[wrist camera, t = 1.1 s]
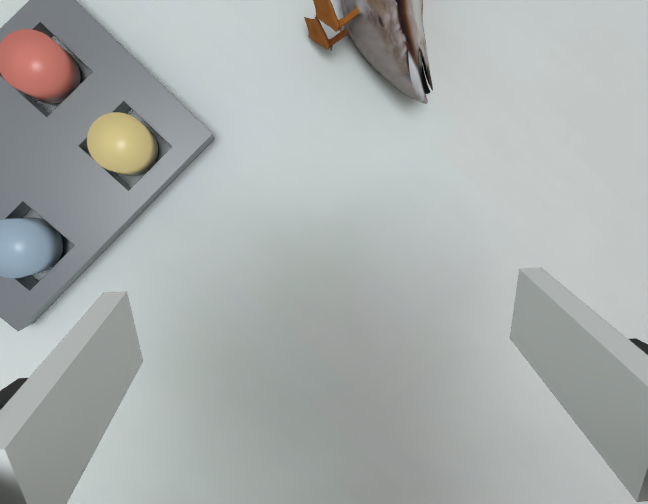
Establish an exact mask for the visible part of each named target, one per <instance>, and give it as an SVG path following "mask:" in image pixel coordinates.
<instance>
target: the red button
mask: <svg viewBox="0 0 648 504" xmlns="http://www.w3.org/2000/svg"><path fill="white" fill-rule="evenodd" d="M0 73H1V75H2V76H3V78H4V79H5V80H6V81H7V82H8V83H9V84H10V85H12V86H13V87H15V88H17V89H18V90H20V91H22V92H24V93H26V94H28V95H30V96H32V97H34V98H36V99H38V100H40V101H42V102H46V103H60V102H63V101H64V100H65V99H66V98H67V97H68V96H69V95H70V94H71V93H72V92H73V91H74V90H75V89H76V88H77V87H78V86H79V84H80V71H79V68H78V65H77V63H76V61H75V60H74V59H73V57H72V56H71V55H70V54H68V53H67V52H66V51H65V50H64V49H63V48H62V47H60V46H59V45H58V44H57V43H56V42H55V41H53V40H52V39H51V38H50V37H49V36H47V35H46V34H44V33H42V32H39V31H37V30H32V29H21V30H17V31H14V32H12V33H10V34H8V35H7V36H6V37H5V38H4V39H3V40H2V41H1V43H0Z"/></svg>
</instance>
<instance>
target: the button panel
mask: <svg viewBox="0 0 648 504" xmlns="http://www.w3.org/2000/svg"><path fill="white" fill-rule="evenodd" d="M21 29H32V30H37V31H39V32H42V33H44V34H46V35H47V36H49V37H50V38H51V37H52V36H53V35H55V36H56V37H57V38H58V39H59V40H60V41H61V42H62V43H63V44H64V45H65V46H66V47H67V48H69V49H70V50H71V51H72V52H73V53H74V54H75V55H76V56H77V57H78V58H79V59H80V60H81V61H82V62H83V63H84V64H85V65H86V66H88V67H89V68H90V69H91V70H92V71H93V72H92V73H91V74H90V75H89V76H88V77H87V78H86V79H85V80H84V81H83V82H82V83H81V84H80V85H79V86H78V87H77V88H76V89H75V90H74V91H73V92H72V93H71V94H70V95H69V96H68V97H67V98H66V99H65V100H64V101H63V102H62V103H61V104H60V105H59V106H58V107H57V108H56V109H55V110H54V111H53V112H52V113H51V114H49V113H48V112H47V111H46V110H44V109H43V108H42V107H41V106H40V105H39V104H38V103H37V102H36V101H34V100H33V99H32V98H31V97H30V96H29V95H28V94H26V93H24V92H22V91H20V90H18V89H17V88H15V87H13V86H12V85H10V84H9V83H8V82H7V81H6V80H5V79H4V78H3V76H2V75H1V73H0V220H4V219H18V218H22V217H23V216H24V215H25V214H26V213H27V212H28V211H29V210H30V209H31V208H32V209H33V210H34V211H35V212H36V213H38V214H39V215H40V216H41V217H42V218H43V219H45V220H46V221H47V222H48V223H49V224H50V225H52V226H53V227H54V228H55V229H56V230H58V231H59V232H60V233H61V234H62V235H63V236H65V237H66V238H67V239H68V240H69V241H70V242H72V243H73V244H74V245H75V246H74V247H73V248H72V249H71V250H70V251H69V252H68V253H67V254H66V255H65V256H64V257H63V258H62V259H61V260H60V261H59V262H58V263H57V264H56V265H55V266H54V267H53V268H52V269H51V270H50V271H49V272H48V273H47V274H46V275H45V276H44V277H43V278H42V279H41V280H40V281H39V282H38V281H37V280H36V279H35V278H34V277H32V276H31V275H28V276H25V277H21V278H6V277H2V276H0V317H1V318H2V319H3V320H4V321H6V322H7V323H8V324H9V325H11V326H12V327H13V328H15V329H16V330H17V331H20V330H21V329H23V328H25V327H27V326H29V325H31V324H33V323H34V322H35V321H36V320H37V319H38V318H39V317H40V316H41V315H42V314H43V313H44V312H45V311H46V310H47V309H48V308H49V307H50V306H51V305H52V304H53V303H54V302H55V301H56V299H57V298H58V297H59V296H60V295H61V294H62V293H63V292H64V291H65V290H66V289H67V288H68V287H69V286H70V285H71V284H72V283H73V282H74V281H75V280H76V279H77V278H78V277H79V276H80V275H81V274H82V273H83V272H84V271H85V270H86V269H87V268H88V267H89V266H90V265H91V264H92V263H93V262H94V261H95V260H96V259H97V258H98V257H99V256H100V255H101V254H102V253H103V252H104V251H105V250H106V249H107V248H108V247H109V246H110V245H111V244H112V243H113V242H114V241H115V239H116V238H117V237H118V236H119V235H120V234H121V233H122V232H123V231H124V230H125V229H126V228H127V227H128V226H129V225H130V224H131V223H132V222H133V221H134V220H135V219H136V218H137V217H138V216H139V215H140V214H141V213H142V212H143V211H144V210H145V209H146V208H147V207H148V206H149V205H150V204H151V203H152V202H153V201H154V200H155V199H156V198H157V197H158V196H159V195H160V194H161V193H162V192H163V191H164V190H165V189H166V188H167V187H168V186H169V185H170V184H171V183H172V182H173V181H174V179H175V178H176V177H177V176H178V175H179V174H180V173H181V172H182V171H183V170H184V169H185V168H186V167H187V166H188V165H189V164H190V163H191V162H192V161H193V160H194V159H195V158H196V157H197V156H198V155H199V154H200V153H201V152H202V151H203V150H204V149H205V148H206V147H207V146H208V145H209V144H210V143H211V142H212V141H213V140H214V139H215V138H214V136H213V134H212V133H211V132H210V131H209V130H208V129H207V128H206V127H205V126H204V125H203V124H202V123H201V122H200V121H199V120H198V119H197V118H196V117H194V116H193V115H192V114H191V113H190V112H189V111H188V110H187V109H186V108H185V107H184V106H183V105H182V104H181V103H180V102H179V101H178V100H177V99H176V98H175V97H174V96H173V95H172V94H171V93H170V92H169V91H168V90H167V89H166V88H165V87H164V86H163V85H162V84H161V83H160V82H159V81H157V80H156V79H155V78H154V77H153V76H152V75H151V74H150V73H149V72H148V71H147V70H146V69H145V68H144V67H143V66H142V65H141V64H140V63H139V62H138V61H137V60H136V59H135V58H134V57H133V56H132V55H131V54H130V53H129V52H128V51H127V50H126V49H125V48H124V47H123V46H122V45H120V44H119V43H118V42H117V41H116V40H115V39H114V38H113V37H112V36H111V35H110V34H109V33H108V32H107V31H106V30H105V29H104V28H103V27H102V26H101V25H100V24H99V23H98V22H97V21H96V20H95V19H94V18H93V17H92V16H91V15H90V14H89V13H88V12H87V11H86V10H85V9H83V8H82V7H81V6H80V5H79V4H78V3H77V2H76V1H75V0H29V1H28V2H27V3H26V4H25V5H24V6H23V7H22V8H21V9H20V10H19V11H18V12H17V13H16V14H15V15H14V16H13V17H12V18H11V19H10V20H9V21H8V22H7V23H6V24H5V25H4V26H3V27H2V28H0V43H1V41H2V40H3V39H4V38H5V37H6V36H7V35H8V34H10V33H12V32H14V31H17V30H21ZM131 108H132V109H133V110H134V111H135V112H136V113H137V114H138V115H139V116H140V117H141V118H143V119H144V120H145V121H146V122H147V123H148V124H149V125H150V126H151V127H152V128H153V129H154V130H155V131H156V132H157V133H158V134H159V135H160V136H162V137H163V138H164V139H165V140H166V141H167V142H168V143H169V144H170V145H171V146H172V148H171V149H170V150H169V151H168V152H167V153H166V154H165V155H164V156H163V157H162V158H161V159H160V160H159V161H158V162H157V163H156V164H155V165H154V166H153V167H152V168H151V169H150V170H149V171H148V172H147V173H146V174H145V175H144V176H143V177H142V178H141V179H140V180H139V181H138V182H137V183H136V184H135V185H134V186H133V187H132V188H131V187H130V186H128V185H127V184H126V183H125V182H124V181H123V180H122V179H121V178H120V177H119V176H117V175H116V174H115V173H114V172H113V171H110V170H107V169H105V168H103V167H102V166H100V165H99V164H98V163H97V162H96V161H95V160H94V159H93V158H92V156H91V154H90V152H89V150H88V146H87V135H88V131H89V129H90V127H91V125H92V124H93V122H94V121H95V120H96V119H98V118H99V117H101V116H102V115H105V114H108V113H112V112H120V113H125V114H126V113H127V112H128V111H129V110H130V109H131Z"/></svg>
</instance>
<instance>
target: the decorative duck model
mask: <svg viewBox="0 0 648 504" xmlns="http://www.w3.org/2000/svg"><path fill="white" fill-rule="evenodd" d="M313 1H314V5H315V8H316V17H315V19H309V18H306V17H304V18H305V21H306V24H307V27H308V31H309V36H308V37H309V38H311V39H312V40H313V41H314V42H316V43H318V44H320V45H321V46H323V47H324V48H325V49H329V48H330V47H331V51H332V46H333V44H335V43H336V42H337V41H339V40H340V39H342V38H343V37H344V36H346V35H350V36H351V38H352V40H353V42H354V44H355V45H356V47H357V49H358V50H359V51H360V53H361V54H362V55H363V56H364V57H365V59H366V60H367V61H368V62H369V63H370V64H371V65H372V66H373V67H374V68H375V69H376V70H377V71H378V72H379V73H380V74H381V75H382V76H383V77H385V78H386V79H387V80H388V81H389V82H390V83H392V84H393V85H394V86H395V87H396V88H398V89H399V90H400V91H401V92H403V93H404V94H406V95H407V96H409V97H411V98H413V99H415V100H417V101H419V102H422V103H425V104H426V103H427V98H426V95H425V94H428V93H430V90H429V88H428V85H427V82H426V78H427V80H428V83H429V85H430V87H431V89H432V90H433V88H432V81H431V76H430V70H429V63H428V56H427V49H426V41H425V35H424V29H423V21H422V10H423V0H341V3H342V8H343V14H344V18H342V19H340V20H338V19H337V16H336V14H335V11H334V8H333V6H332V3H331V1H330V0H313ZM318 19H319V20H321V21H322V22H324V23H325V24H326V25H328V26H330V27H331V28H332V29H334V30H335V31H338V30H339V29H340V33H339V34H337V35H336V36H335V37H333V38H332V39H328V38H327V36H326V33H325V31H324V29H323V28H322V25H321V23H320V21H319V20H318ZM344 25H345V28H344V30H342V26H344ZM341 30H342V31H341ZM422 62H423V65H422ZM423 67H424V70H423ZM424 71H425V75H426V78H425V75H424Z"/></svg>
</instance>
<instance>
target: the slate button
mask: <svg viewBox="0 0 648 504" xmlns="http://www.w3.org/2000/svg"><path fill="white" fill-rule="evenodd" d="M62 251H63V242H62V238H61V236H60V234H59V232H58V230H56V229H55V228H54V227H53V226H52V225H50V224H49V223H48V222H47V221H44V220H42V219H37V218H18V219H4V220H0V276H2V277H6V278H21V277H25V276H28V275H32V274H35V273H38V272H42V271H45V270H47V269H49V268H51V267H52V266H54V265H55V264H56V263H57V262H58V260H59V259H60V257H61V255H62Z"/></svg>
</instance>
